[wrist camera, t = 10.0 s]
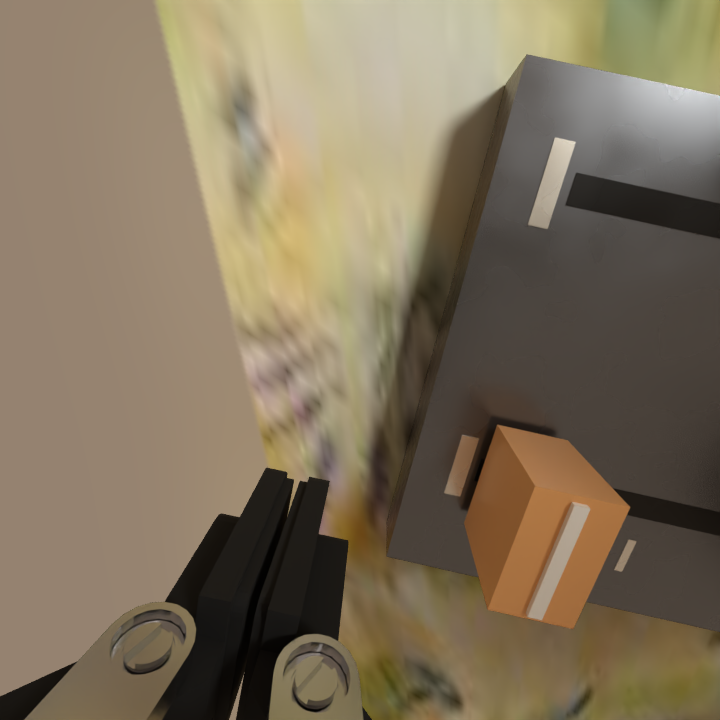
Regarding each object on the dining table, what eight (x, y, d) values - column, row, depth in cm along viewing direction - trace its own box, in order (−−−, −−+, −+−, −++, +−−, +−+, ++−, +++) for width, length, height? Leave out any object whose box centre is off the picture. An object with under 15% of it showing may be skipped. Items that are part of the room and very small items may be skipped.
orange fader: (567, 439, 13) (633, 511, 10) (528, 537, 14) (575, 634, 11) (497, 424, 13) (537, 489, 10) (463, 523, 14) (488, 614, 11)
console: (1033, 196, 13) (1150, 187, 11) (769, 609, 17) (817, 654, 15) (505, 83, 13) (527, 53, 11) (386, 522, 17) (386, 557, 16)
